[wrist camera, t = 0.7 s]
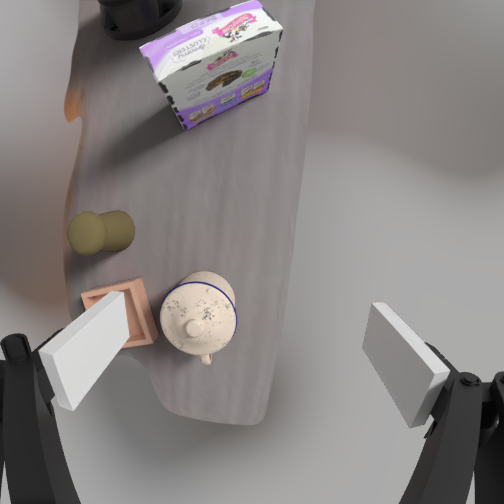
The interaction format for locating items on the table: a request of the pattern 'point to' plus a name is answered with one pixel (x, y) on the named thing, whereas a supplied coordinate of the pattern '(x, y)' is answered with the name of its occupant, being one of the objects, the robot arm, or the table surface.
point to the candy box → (215, 61)
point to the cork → (100, 232)
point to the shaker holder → (129, 309)
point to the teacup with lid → (200, 315)
